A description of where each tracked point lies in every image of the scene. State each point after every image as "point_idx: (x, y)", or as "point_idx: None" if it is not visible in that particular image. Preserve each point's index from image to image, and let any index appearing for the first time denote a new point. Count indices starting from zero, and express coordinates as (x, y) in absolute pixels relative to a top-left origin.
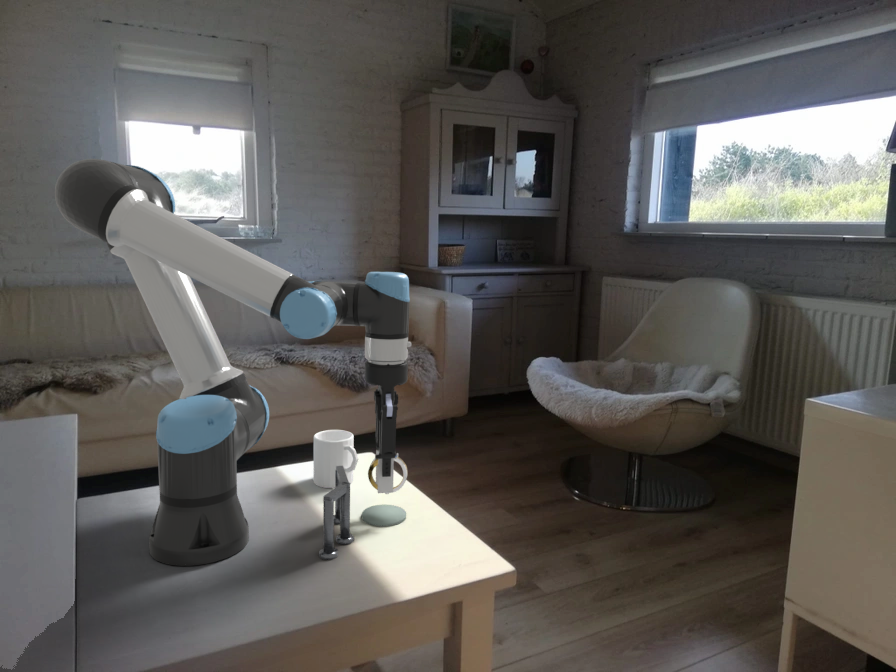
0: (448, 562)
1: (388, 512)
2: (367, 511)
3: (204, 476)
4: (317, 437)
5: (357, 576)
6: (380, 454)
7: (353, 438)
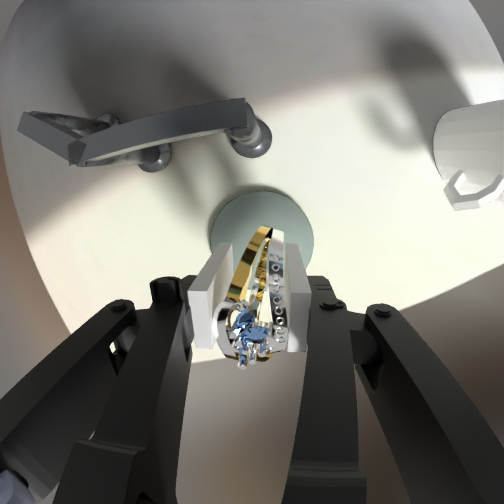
0: None
1: None
2: (278, 205)
3: None
4: None
5: (56, 185)
6: (111, 306)
7: None
